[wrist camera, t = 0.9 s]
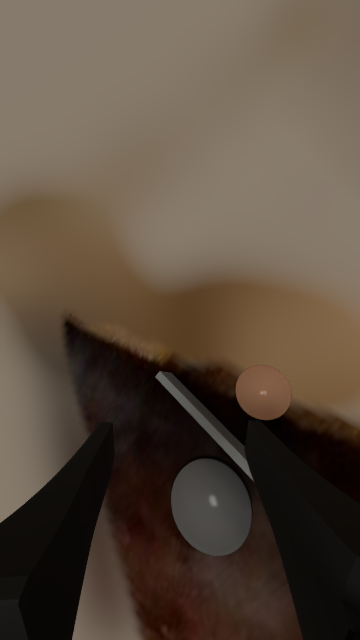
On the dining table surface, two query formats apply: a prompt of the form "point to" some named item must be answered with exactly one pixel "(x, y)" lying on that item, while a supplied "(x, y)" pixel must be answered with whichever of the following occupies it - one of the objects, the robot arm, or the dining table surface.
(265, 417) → the terracotta cylinder
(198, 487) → the slate coaster
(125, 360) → the dining table surface
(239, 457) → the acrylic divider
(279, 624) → the dining table surface
